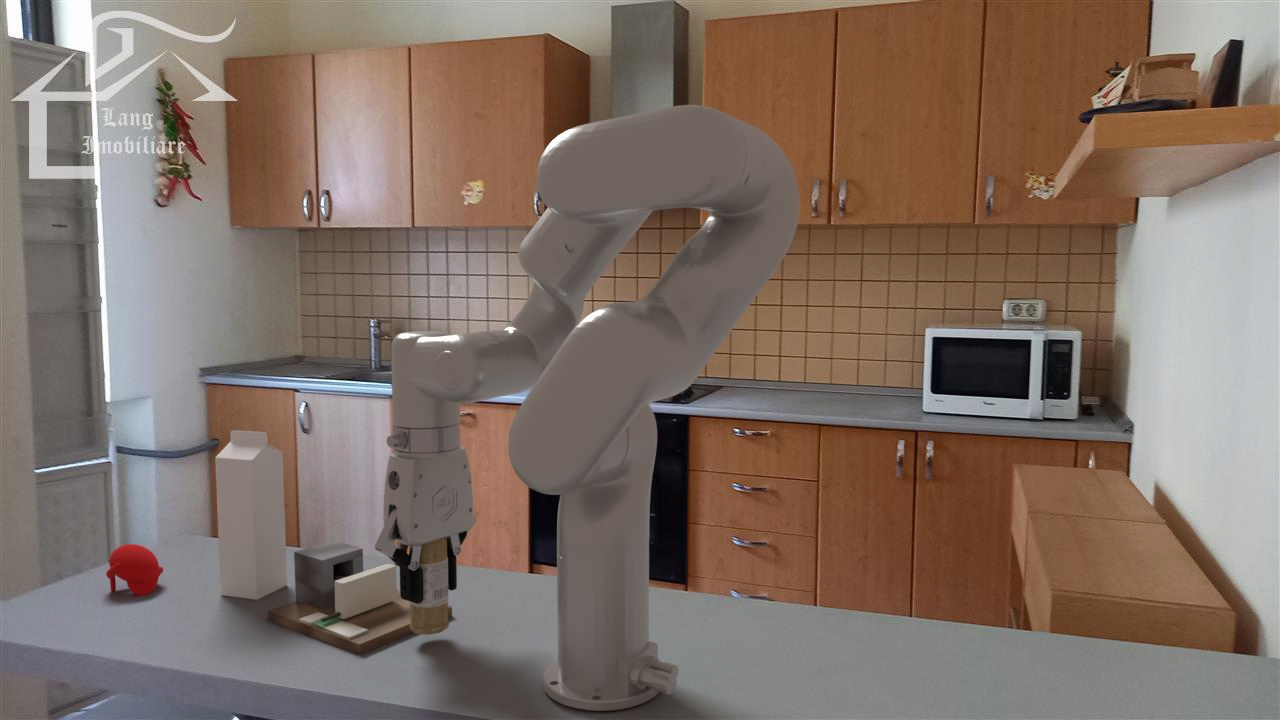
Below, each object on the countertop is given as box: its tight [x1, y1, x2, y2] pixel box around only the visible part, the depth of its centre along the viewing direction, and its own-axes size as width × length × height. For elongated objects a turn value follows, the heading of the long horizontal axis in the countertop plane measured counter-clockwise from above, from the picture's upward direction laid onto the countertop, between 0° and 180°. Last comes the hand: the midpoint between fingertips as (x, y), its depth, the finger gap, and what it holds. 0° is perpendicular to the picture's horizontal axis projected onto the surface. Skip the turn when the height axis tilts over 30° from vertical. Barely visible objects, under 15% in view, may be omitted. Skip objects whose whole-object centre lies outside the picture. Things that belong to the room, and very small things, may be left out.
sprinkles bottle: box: [409, 537, 450, 636], centre depth 101 cm, size 5×5×13 cm
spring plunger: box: [321, 563, 398, 622], centre depth 108 cm, size 7×10×4 cm, turn 145°
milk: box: [214, 430, 288, 601], centre depth 118 cm, size 6×6×22 cm
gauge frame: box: [266, 540, 453, 656], centre depth 109 cm, size 18×14×8 cm
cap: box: [105, 543, 164, 597], centre depth 119 cm, size 8×6×6 cm
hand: (429, 592), depth 101 cm, fingers closed on sprinkles bottle, 4 cm apart
